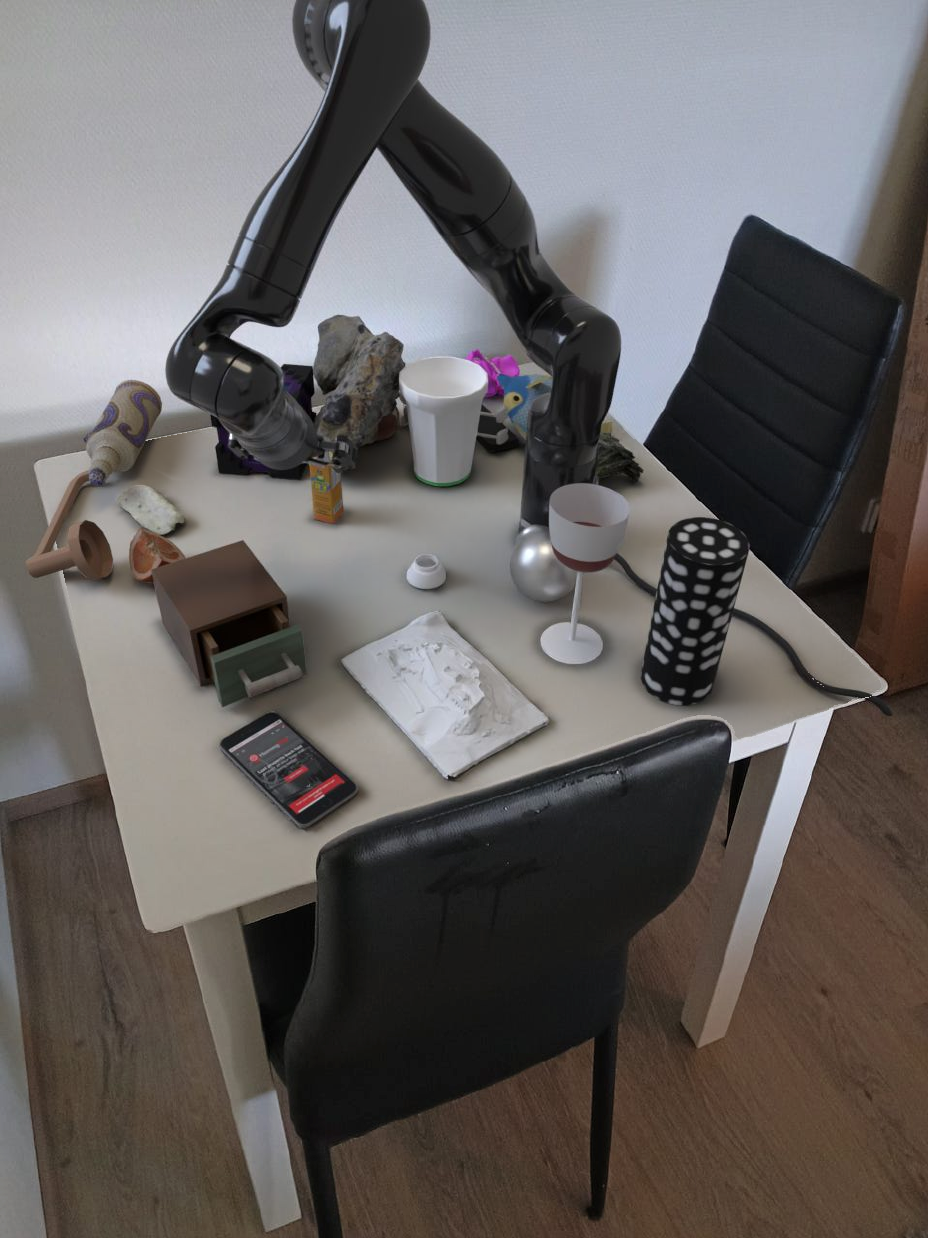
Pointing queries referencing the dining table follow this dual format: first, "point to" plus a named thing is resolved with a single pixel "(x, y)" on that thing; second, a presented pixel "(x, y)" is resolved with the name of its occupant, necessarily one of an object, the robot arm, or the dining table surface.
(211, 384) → the robot arm
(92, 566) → the long-stemmed smoking pipe
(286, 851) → the dining table surface
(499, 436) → the figurine
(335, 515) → the supplement box
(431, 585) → the white jar
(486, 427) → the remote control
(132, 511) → the white oblong lump
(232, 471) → the energy cube
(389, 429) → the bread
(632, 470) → the mineral specimen
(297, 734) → the smartphone
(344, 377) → the rock
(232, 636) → the drawer
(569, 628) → the wineglass
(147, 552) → the fruit slice
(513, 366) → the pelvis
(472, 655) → the terrain model
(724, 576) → the white-spotted black cylinder
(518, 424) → the decorative fish sculpture
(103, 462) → the decorative bottle
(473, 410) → the cup
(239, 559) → the cabinet
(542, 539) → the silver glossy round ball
